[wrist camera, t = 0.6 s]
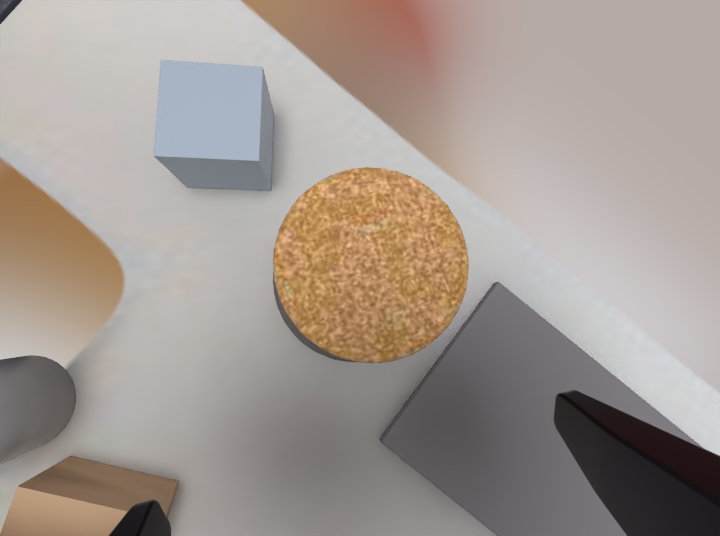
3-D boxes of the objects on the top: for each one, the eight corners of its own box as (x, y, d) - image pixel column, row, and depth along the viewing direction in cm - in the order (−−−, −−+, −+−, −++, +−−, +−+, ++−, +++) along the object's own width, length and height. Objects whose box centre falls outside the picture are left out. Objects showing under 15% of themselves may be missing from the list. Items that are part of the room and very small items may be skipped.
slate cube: (271, 191, 24) (259, 160, 20) (188, 188, 24) (153, 155, 19) (274, 115, 25) (262, 66, 20) (192, 110, 25) (160, 59, 20)
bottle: (292, 341, 23) (243, 391, 9) (293, 244, 24) (251, 137, 9) (388, 340, 24) (498, 387, 9) (387, 246, 25) (489, 148, 10)
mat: (710, 458, 25) (719, 461, 25) (613, 626, 23) (620, 634, 23) (494, 282, 25) (498, 282, 25) (379, 438, 23) (381, 442, 23)
